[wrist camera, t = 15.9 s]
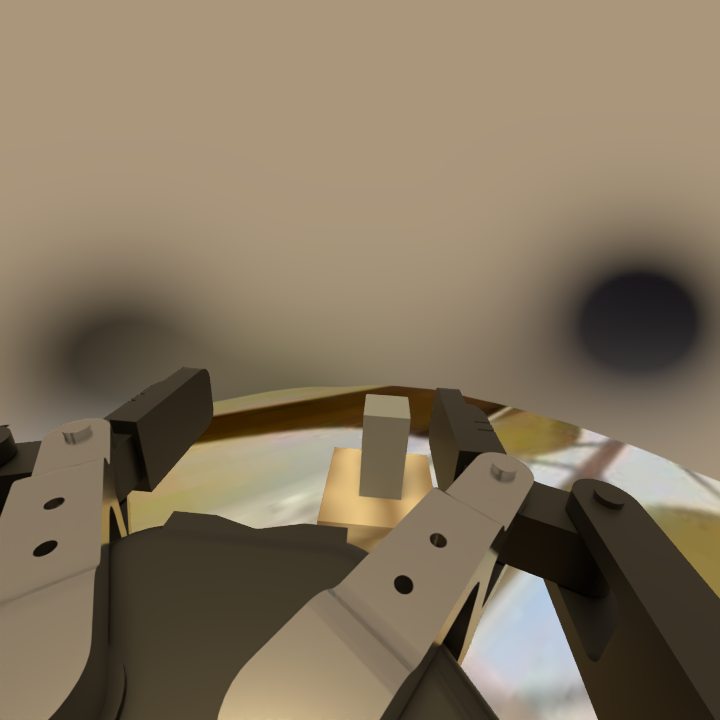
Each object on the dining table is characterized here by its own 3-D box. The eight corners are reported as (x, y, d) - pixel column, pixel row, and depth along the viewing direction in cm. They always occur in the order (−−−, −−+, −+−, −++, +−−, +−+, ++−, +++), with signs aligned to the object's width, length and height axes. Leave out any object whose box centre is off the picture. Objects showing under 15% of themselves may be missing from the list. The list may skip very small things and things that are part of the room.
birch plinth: (317, 557, 35) (317, 520, 33) (333, 478, 46) (334, 447, 45) (434, 569, 35) (441, 532, 33) (422, 486, 46) (427, 455, 44)
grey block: (358, 496, 37) (363, 415, 33) (361, 468, 41) (366, 394, 37) (400, 500, 36) (410, 418, 33) (399, 472, 41) (407, 397, 37)
